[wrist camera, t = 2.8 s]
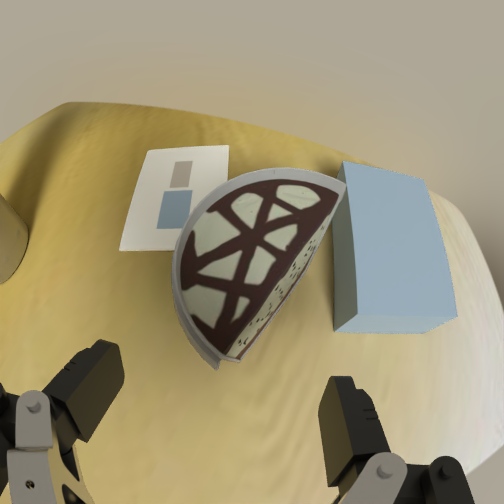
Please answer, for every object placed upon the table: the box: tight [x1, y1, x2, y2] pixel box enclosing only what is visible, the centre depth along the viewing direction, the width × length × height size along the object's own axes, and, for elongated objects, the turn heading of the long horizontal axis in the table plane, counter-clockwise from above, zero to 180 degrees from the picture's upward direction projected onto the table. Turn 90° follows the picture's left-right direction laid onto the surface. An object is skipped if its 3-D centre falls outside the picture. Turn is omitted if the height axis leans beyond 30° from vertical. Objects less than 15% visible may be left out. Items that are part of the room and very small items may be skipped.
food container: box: [171, 168, 347, 371], centre depth 17 cm, size 12×6×10 cm, turn 144°
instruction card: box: [119, 145, 229, 251], centre depth 27 cm, size 10×14×1 cm
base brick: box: [332, 161, 457, 334], centre depth 21 cm, size 9×14×5 cm, turn 174°
